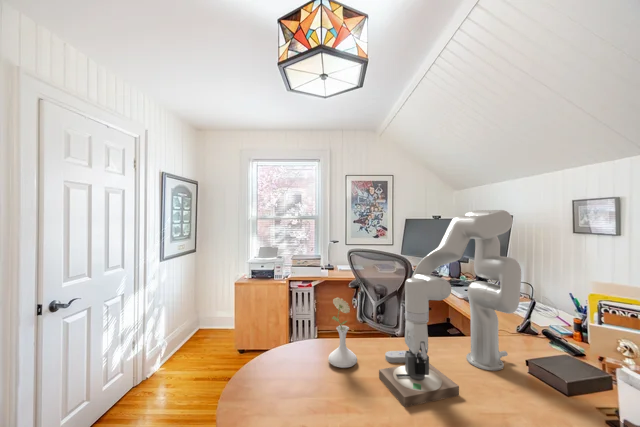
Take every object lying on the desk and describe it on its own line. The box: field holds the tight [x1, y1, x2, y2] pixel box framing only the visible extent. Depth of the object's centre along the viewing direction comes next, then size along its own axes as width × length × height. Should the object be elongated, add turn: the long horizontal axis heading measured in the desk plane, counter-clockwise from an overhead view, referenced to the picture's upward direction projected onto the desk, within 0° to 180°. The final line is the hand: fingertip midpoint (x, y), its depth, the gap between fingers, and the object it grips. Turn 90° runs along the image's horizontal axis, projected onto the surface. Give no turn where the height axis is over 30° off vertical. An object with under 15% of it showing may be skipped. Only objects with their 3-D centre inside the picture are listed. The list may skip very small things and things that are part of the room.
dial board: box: [378, 362, 460, 408], centre depth 95 cm, size 20×16×3 cm
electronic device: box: [384, 350, 421, 364], centre depth 113 cm, size 5×10×15 cm
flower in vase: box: [327, 297, 358, 369], centre depth 111 cm, size 13×11×25 cm
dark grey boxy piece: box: [396, 353, 430, 380], centre depth 95 cm, size 10×5×7 cm, turn 91°
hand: (416, 368), depth 95 cm, fingers open, 4 cm apart
